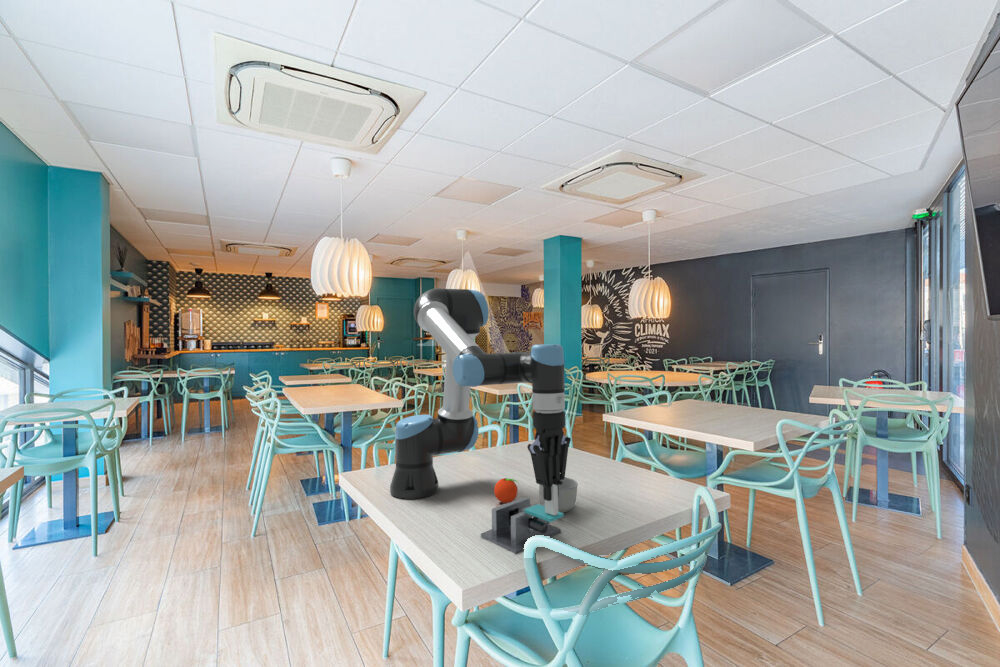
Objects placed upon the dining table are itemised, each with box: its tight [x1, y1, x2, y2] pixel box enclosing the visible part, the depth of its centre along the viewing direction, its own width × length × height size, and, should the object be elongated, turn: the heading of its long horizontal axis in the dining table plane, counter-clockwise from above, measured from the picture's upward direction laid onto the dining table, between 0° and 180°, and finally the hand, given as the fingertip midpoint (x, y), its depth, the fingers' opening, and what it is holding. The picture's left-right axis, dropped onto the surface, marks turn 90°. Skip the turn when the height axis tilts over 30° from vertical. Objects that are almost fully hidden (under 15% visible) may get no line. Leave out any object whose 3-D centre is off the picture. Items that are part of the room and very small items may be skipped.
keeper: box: [523, 503, 565, 523], centre depth 108 cm, size 9×5×1 cm, turn 43°
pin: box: [509, 510, 548, 534], centre depth 112 cm, size 13×4×4 cm, turn 43°
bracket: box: [480, 496, 562, 554], centre depth 113 cm, size 12×16×7 cm
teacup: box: [538, 476, 579, 514], centre depth 128 cm, size 14×11×8 cm
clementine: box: [493, 477, 518, 504], centre depth 135 cm, size 8×7×7 cm
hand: (551, 513), depth 106 cm, fingers closed
